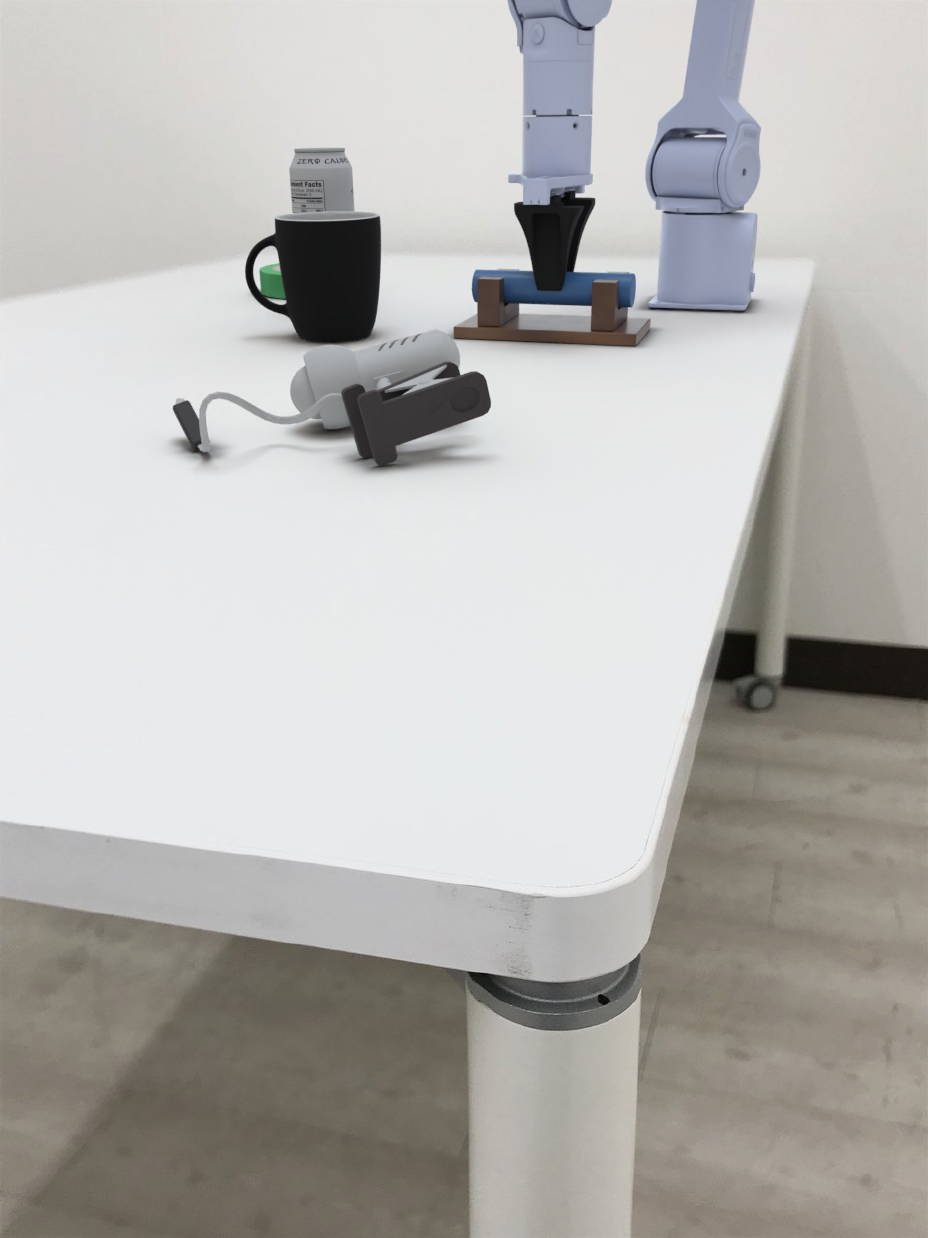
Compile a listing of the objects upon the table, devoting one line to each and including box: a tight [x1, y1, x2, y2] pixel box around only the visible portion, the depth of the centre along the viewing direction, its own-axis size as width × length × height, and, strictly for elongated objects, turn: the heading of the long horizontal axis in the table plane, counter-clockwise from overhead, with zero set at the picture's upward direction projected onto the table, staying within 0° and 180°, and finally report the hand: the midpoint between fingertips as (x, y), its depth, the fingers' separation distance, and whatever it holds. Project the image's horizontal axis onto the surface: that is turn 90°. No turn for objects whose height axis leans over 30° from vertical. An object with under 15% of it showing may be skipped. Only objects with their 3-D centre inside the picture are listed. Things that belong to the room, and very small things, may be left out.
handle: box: [471, 268, 637, 308], centre depth 96 cm, size 14×3×3 cm, turn 73°
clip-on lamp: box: [172, 329, 492, 467], centre depth 65 cm, size 12×6×18 cm
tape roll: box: [258, 262, 286, 300], centre depth 123 cm, size 11×11×3 cm
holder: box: [453, 268, 652, 347], centre depth 97 cm, size 16×8×5 cm, turn 73°
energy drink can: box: [288, 147, 355, 214], centre depth 109 cm, size 6×6×15 cm
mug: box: [244, 211, 382, 344], centre depth 96 cm, size 12×9×10 cm
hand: (553, 287), depth 96 cm, fingers closed on handle, 3 cm apart
